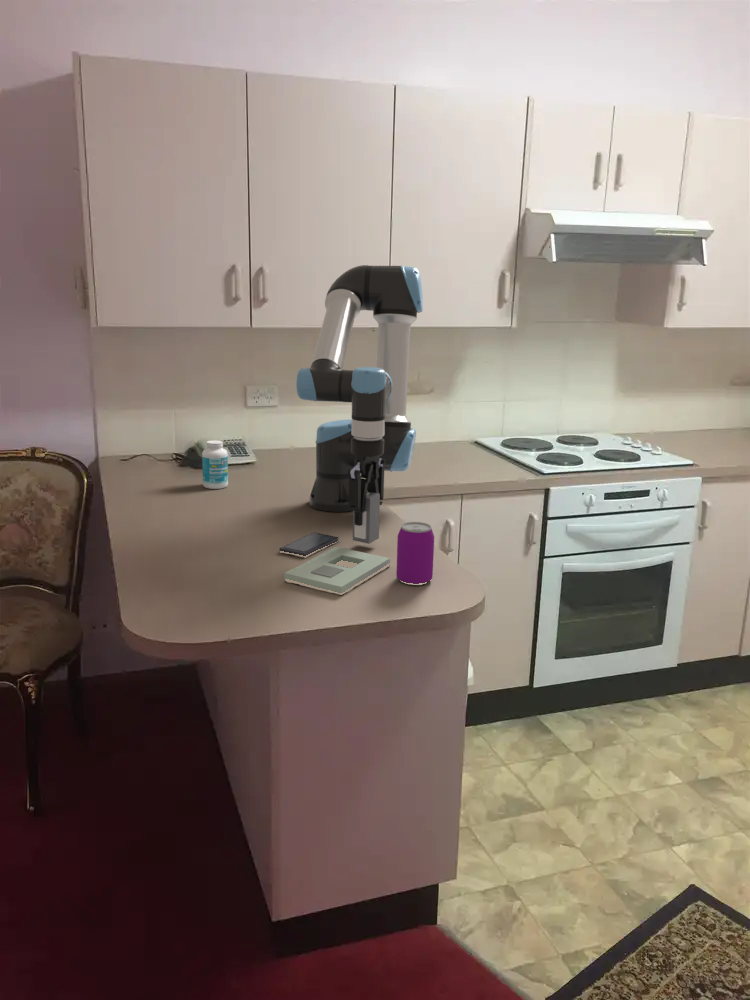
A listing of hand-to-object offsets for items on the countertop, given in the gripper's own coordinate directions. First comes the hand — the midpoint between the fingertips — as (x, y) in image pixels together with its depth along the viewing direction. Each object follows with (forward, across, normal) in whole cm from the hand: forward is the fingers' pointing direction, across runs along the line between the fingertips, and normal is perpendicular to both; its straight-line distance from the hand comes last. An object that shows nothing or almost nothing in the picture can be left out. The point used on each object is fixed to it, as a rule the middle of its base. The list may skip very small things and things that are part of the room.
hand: (365, 534), depth 191 cm
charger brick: (+1, 0, 0) cm, 1 cm away
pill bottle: (+4, -22, -65) cm, 69 cm away
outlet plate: (+3, +19, +4) cm, 19 cm away
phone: (+3, +8, -11) cm, 14 cm away
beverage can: (+3, +13, +20) cm, 24 cm away
